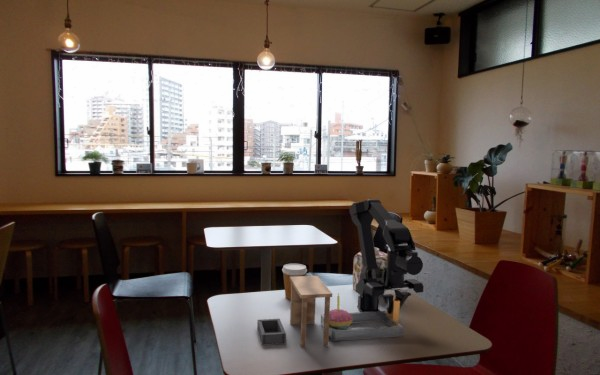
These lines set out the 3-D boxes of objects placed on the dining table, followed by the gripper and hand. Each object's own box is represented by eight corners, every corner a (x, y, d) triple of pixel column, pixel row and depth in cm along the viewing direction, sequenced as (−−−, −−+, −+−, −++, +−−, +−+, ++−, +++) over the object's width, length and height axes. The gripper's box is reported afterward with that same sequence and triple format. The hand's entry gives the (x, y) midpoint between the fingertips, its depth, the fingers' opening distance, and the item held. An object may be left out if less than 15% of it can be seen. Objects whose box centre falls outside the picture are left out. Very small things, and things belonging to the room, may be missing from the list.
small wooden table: (315, 321, 142) (317, 275, 141) (330, 345, 125) (332, 293, 124) (288, 323, 140) (289, 276, 139) (299, 347, 123) (301, 294, 122)
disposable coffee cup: (287, 303, 158) (289, 271, 157) (277, 295, 166) (278, 264, 165) (310, 299, 162) (311, 268, 161) (299, 291, 171) (300, 262, 169)
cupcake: (321, 327, 138) (323, 290, 136) (347, 326, 139) (349, 290, 138) (328, 339, 129) (329, 300, 128) (355, 338, 131) (357, 299, 129)
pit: (279, 327, 136) (279, 318, 136) (285, 343, 126) (285, 333, 125) (257, 329, 135) (257, 319, 134) (261, 345, 124) (262, 335, 124)
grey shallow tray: (386, 319, 145) (388, 291, 144) (403, 336, 132) (405, 305, 132) (320, 323, 140) (321, 294, 139) (332, 340, 128) (333, 309, 127)
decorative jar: (377, 286, 180) (379, 244, 179) (391, 296, 169) (393, 251, 168) (351, 288, 177) (353, 245, 175) (363, 298, 166) (365, 252, 164)
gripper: (406, 257, 147) (403, 301, 149) (357, 260, 141) (355, 306, 143) (426, 266, 137) (423, 314, 138) (374, 270, 131) (371, 319, 132)
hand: (392, 313), depth 138 cm, fingers closed on grey shallow tray, 2 cm apart
